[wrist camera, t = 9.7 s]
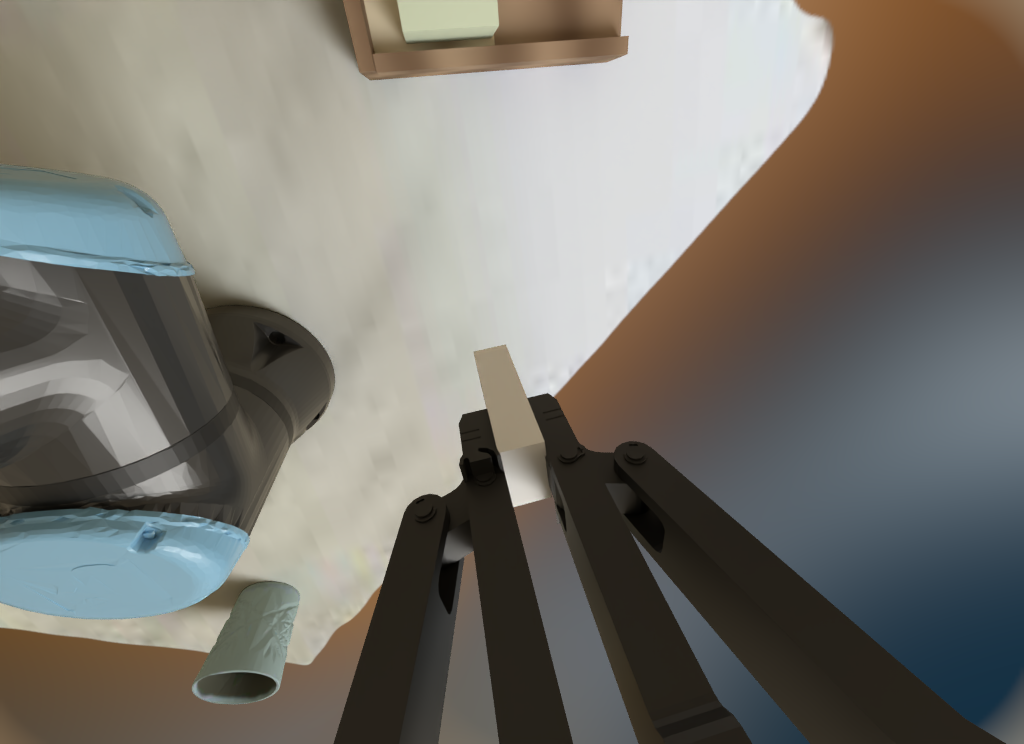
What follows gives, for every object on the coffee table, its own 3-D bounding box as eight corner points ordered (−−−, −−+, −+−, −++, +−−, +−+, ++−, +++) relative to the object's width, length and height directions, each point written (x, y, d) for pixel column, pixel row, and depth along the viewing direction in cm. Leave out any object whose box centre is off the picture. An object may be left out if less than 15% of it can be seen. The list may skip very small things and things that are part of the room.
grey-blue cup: (317, 599, 63) (295, 688, 53) (263, 621, 64) (231, 712, 54) (275, 570, 58) (241, 663, 48) (216, 594, 58) (170, 690, 48)
